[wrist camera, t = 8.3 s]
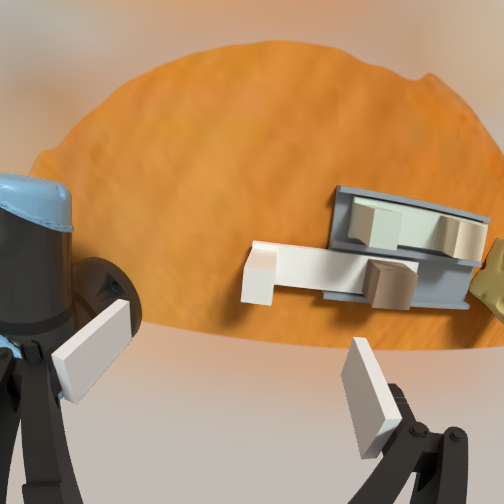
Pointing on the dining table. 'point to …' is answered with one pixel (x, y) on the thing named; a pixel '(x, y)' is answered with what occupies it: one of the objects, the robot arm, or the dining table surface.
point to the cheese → (491, 281)
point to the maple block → (460, 238)
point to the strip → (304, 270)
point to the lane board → (407, 254)
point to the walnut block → (389, 284)
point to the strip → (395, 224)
